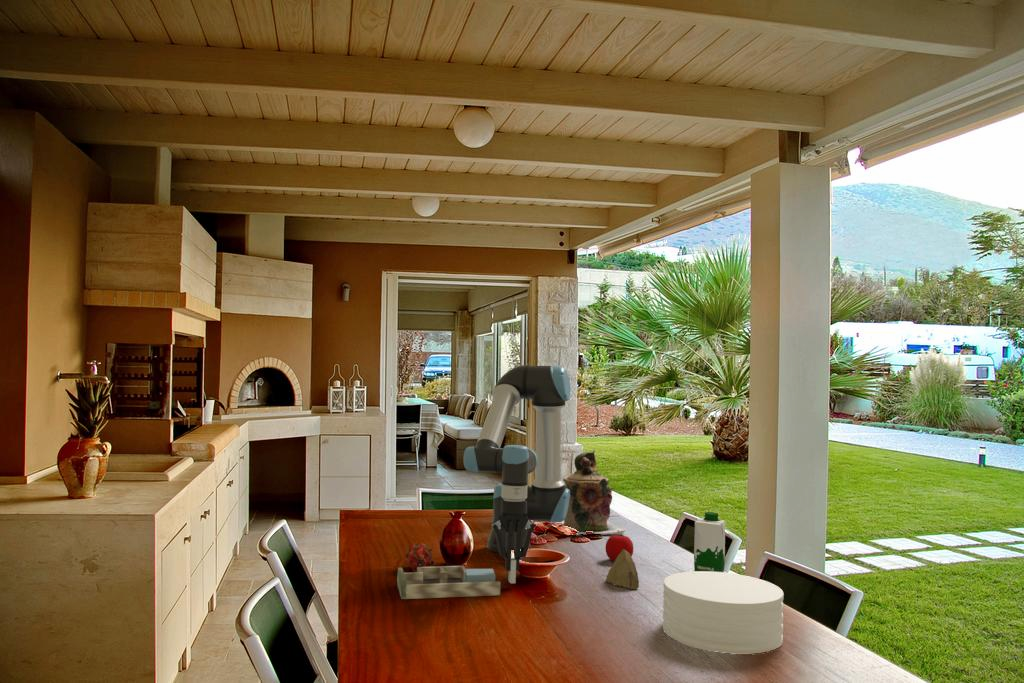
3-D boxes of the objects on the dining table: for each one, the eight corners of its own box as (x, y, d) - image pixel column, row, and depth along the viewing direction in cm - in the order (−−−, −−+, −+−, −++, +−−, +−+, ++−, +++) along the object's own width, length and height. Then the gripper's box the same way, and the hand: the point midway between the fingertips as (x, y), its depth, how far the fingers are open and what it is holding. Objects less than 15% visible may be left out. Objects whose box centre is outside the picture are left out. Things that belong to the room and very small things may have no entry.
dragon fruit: (420, 569, 241) (422, 585, 229) (398, 554, 239) (399, 569, 228) (436, 548, 241) (439, 563, 230) (415, 533, 240) (417, 547, 228)
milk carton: (726, 579, 234) (727, 513, 235) (720, 585, 226) (721, 518, 227) (698, 574, 238) (699, 510, 239) (690, 581, 230) (691, 514, 231)
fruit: (632, 558, 257) (632, 528, 257) (633, 565, 248) (634, 534, 248) (604, 557, 258) (605, 527, 258) (605, 563, 249) (606, 533, 249)
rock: (649, 582, 219) (640, 568, 229) (633, 559, 218) (625, 546, 228) (618, 604, 219) (611, 589, 229) (602, 581, 218) (595, 567, 227)
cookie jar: (546, 525, 310) (548, 446, 312) (601, 523, 318) (603, 446, 319) (569, 538, 287) (571, 453, 288) (628, 535, 294) (629, 452, 296)
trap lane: (486, 576, 229) (486, 559, 229) (500, 595, 210) (500, 576, 210) (395, 579, 222) (396, 562, 222) (401, 599, 204) (402, 580, 204)
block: (492, 586, 219) (492, 568, 220) (494, 593, 212) (495, 575, 213) (464, 586, 218) (465, 568, 219) (466, 593, 211) (466, 575, 212)
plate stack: (694, 608, 203) (695, 565, 204) (799, 633, 186) (800, 586, 186) (641, 634, 182) (642, 586, 182) (755, 665, 164) (756, 611, 164)
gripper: (494, 501, 213) (492, 586, 212) (539, 501, 217) (537, 584, 215) (489, 497, 221) (487, 579, 220) (532, 496, 224) (530, 577, 223)
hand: (511, 581), depth 218 cm, fingers closed
